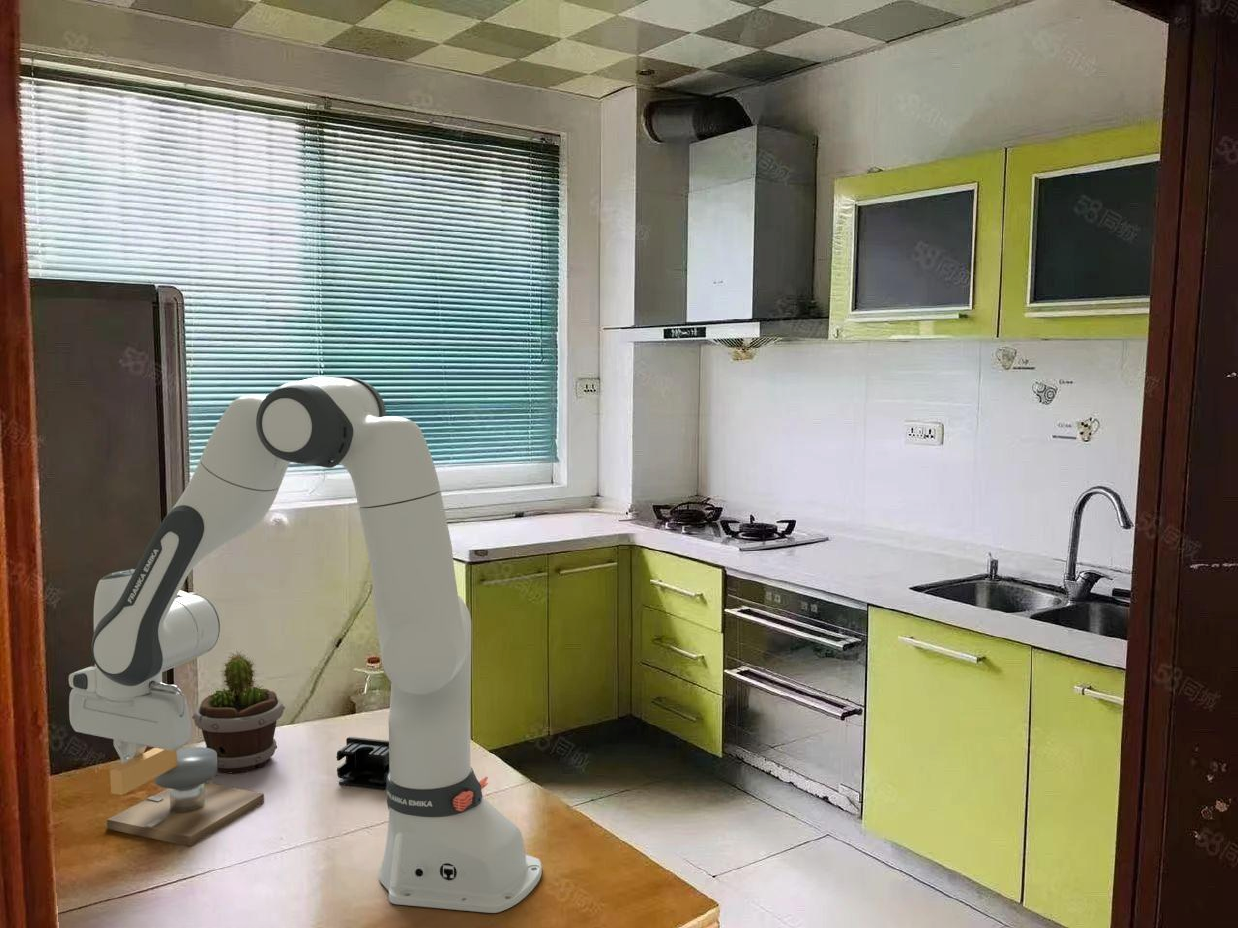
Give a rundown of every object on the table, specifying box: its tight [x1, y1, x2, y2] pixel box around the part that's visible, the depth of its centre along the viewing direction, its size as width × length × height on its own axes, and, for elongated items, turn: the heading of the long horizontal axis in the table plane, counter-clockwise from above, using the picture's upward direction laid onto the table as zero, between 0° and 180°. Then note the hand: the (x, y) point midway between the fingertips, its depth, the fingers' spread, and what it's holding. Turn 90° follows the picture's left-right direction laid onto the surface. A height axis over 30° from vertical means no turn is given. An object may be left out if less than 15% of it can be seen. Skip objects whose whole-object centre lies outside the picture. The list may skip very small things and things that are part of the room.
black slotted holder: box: [336, 736, 390, 791], centre depth 170 cm, size 10×7×7 cm
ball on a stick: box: [109, 746, 218, 796], centre depth 151 cm, size 18×9×6 cm, turn 163°
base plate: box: [106, 782, 265, 847], centre depth 157 cm, size 16×16×2 cm
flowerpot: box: [191, 649, 286, 774], centre depth 177 cm, size 14×15×20 cm
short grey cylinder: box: [169, 783, 205, 813], centre depth 156 cm, size 5×5×4 cm
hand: (131, 767), depth 148 cm, fingers closed
